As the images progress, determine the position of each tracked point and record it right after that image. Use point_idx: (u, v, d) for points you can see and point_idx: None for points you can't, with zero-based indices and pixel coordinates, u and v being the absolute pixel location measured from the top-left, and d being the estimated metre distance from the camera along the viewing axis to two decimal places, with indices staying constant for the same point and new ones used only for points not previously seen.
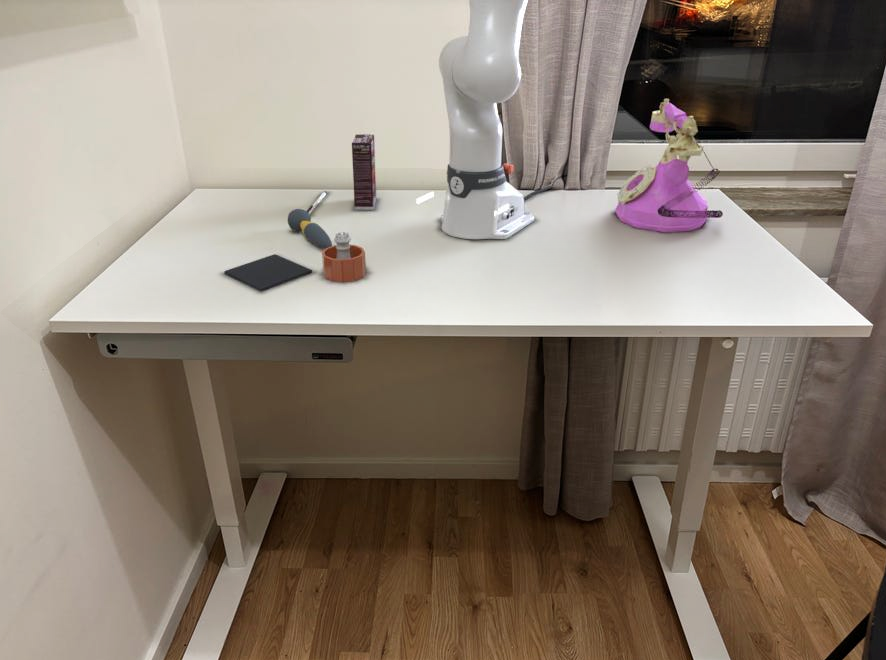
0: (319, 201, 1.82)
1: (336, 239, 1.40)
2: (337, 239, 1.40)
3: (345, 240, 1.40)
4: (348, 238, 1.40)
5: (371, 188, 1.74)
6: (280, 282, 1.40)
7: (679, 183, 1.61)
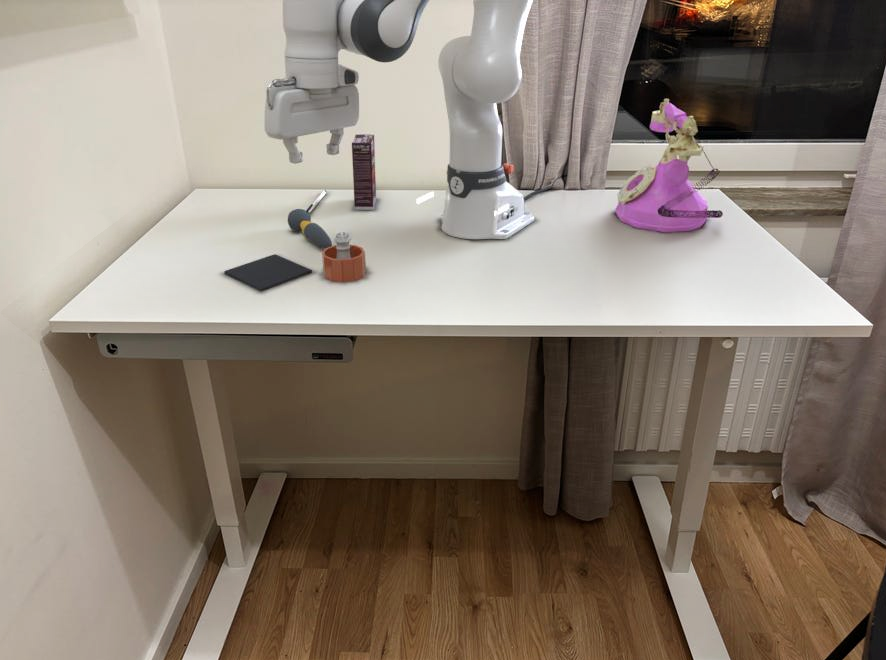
0: (319, 200, 1.82)
1: (336, 239, 1.40)
2: (337, 239, 1.40)
3: (345, 240, 1.40)
4: (348, 238, 1.40)
5: (371, 188, 1.74)
6: (280, 282, 1.40)
7: (679, 183, 1.61)
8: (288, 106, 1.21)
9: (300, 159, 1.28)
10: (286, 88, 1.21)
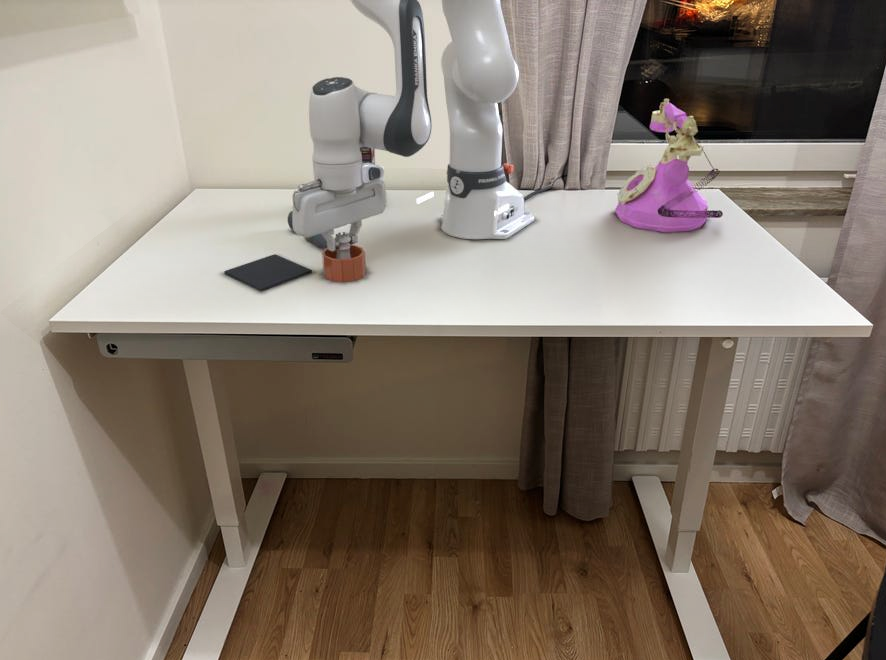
0: None
1: (336, 239, 1.40)
2: (337, 239, 1.40)
3: (345, 240, 1.40)
4: (348, 238, 1.40)
5: None
6: (280, 282, 1.40)
7: (679, 183, 1.61)
8: (313, 208, 1.31)
9: (337, 247, 1.40)
10: (312, 191, 1.31)
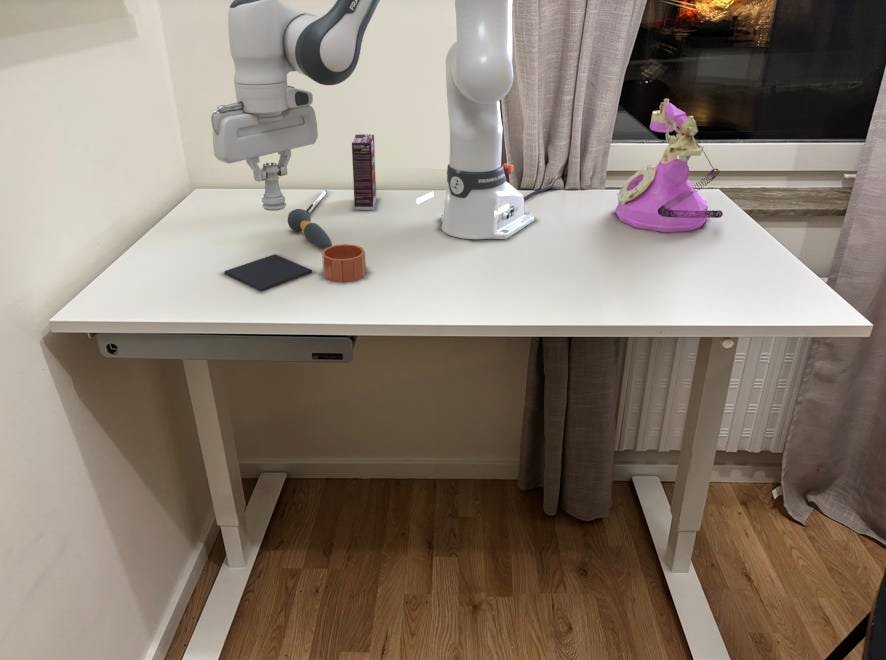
0: (319, 200, 1.82)
1: (263, 169, 1.34)
2: (264, 169, 1.33)
3: (272, 170, 1.33)
4: (276, 168, 1.34)
5: (371, 188, 1.74)
6: (280, 282, 1.40)
7: (679, 183, 1.61)
8: (234, 131, 1.25)
9: (264, 177, 1.33)
10: (232, 113, 1.25)
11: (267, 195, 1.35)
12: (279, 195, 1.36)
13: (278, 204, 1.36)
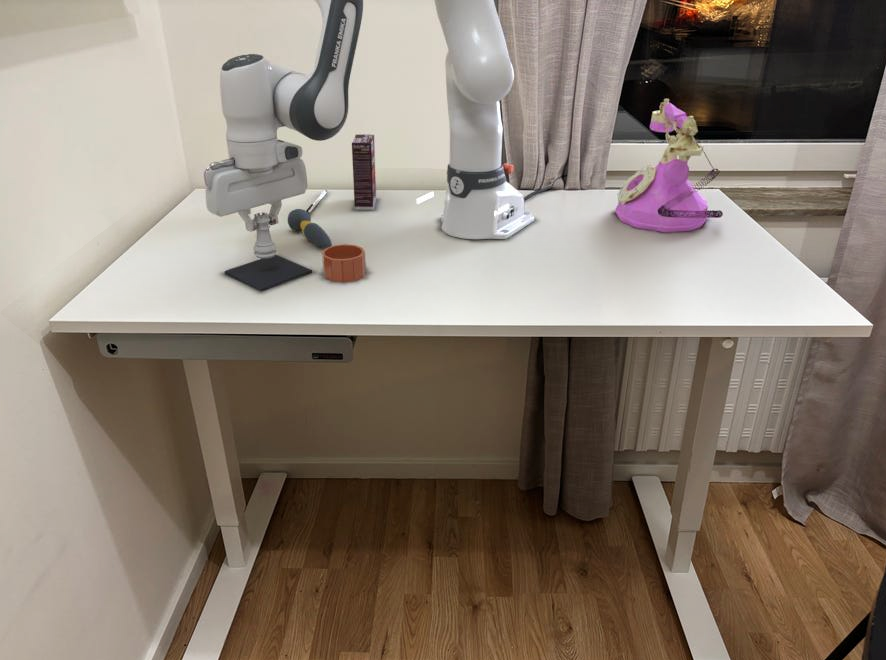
0: (319, 200, 1.82)
1: (254, 219, 1.38)
2: (255, 219, 1.38)
3: (263, 220, 1.38)
4: (267, 218, 1.39)
5: (371, 188, 1.74)
6: (280, 282, 1.40)
7: (679, 183, 1.61)
8: (226, 186, 1.29)
9: (255, 227, 1.38)
10: (224, 169, 1.30)
11: (259, 244, 1.40)
12: (270, 243, 1.41)
13: (269, 252, 1.41)
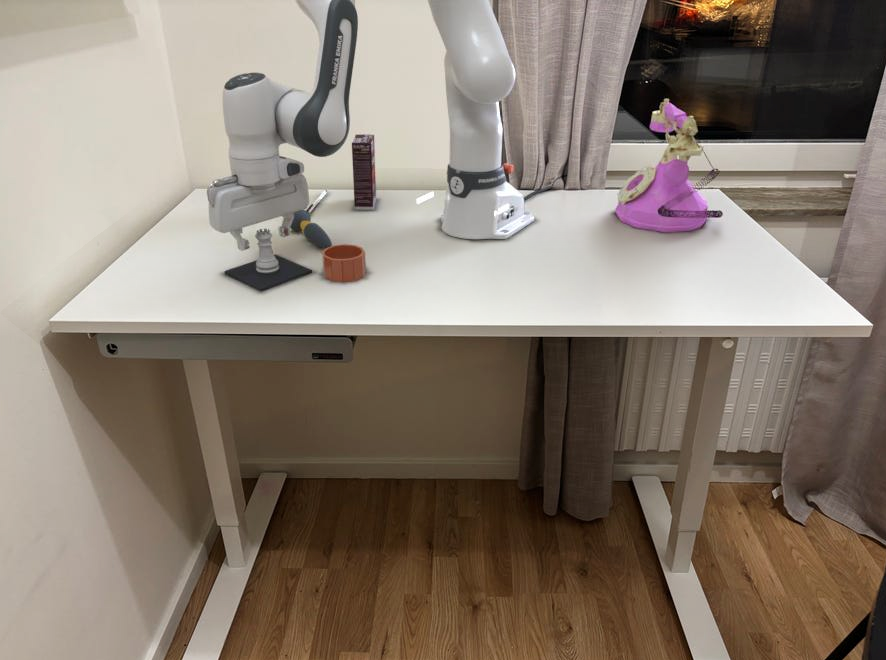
0: (319, 200, 1.82)
1: (257, 235, 1.40)
2: (258, 235, 1.40)
3: (265, 236, 1.40)
4: (269, 234, 1.40)
5: (371, 188, 1.74)
6: (280, 282, 1.40)
7: (679, 183, 1.61)
8: (228, 203, 1.31)
9: (247, 246, 1.38)
10: (227, 186, 1.31)
11: (261, 259, 1.42)
12: (272, 259, 1.43)
13: (271, 268, 1.43)
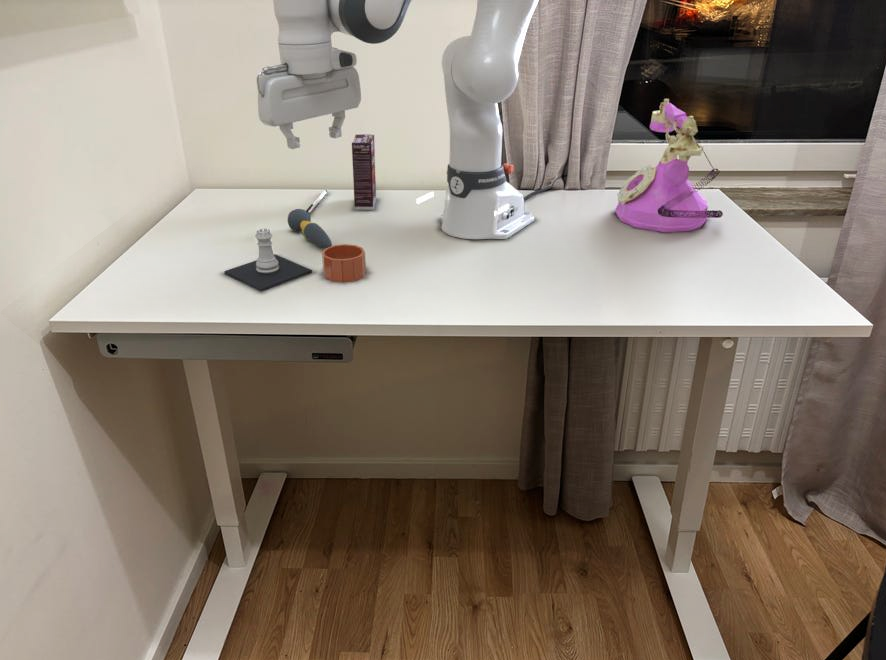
0: (319, 200, 1.82)
1: (257, 235, 1.40)
2: (258, 235, 1.40)
3: (265, 236, 1.40)
4: (269, 234, 1.40)
5: (371, 188, 1.74)
6: (280, 282, 1.40)
7: (679, 183, 1.61)
8: (279, 93, 1.23)
9: (297, 144, 1.30)
10: (277, 75, 1.23)
11: (261, 259, 1.42)
12: (272, 259, 1.43)
13: (271, 268, 1.43)
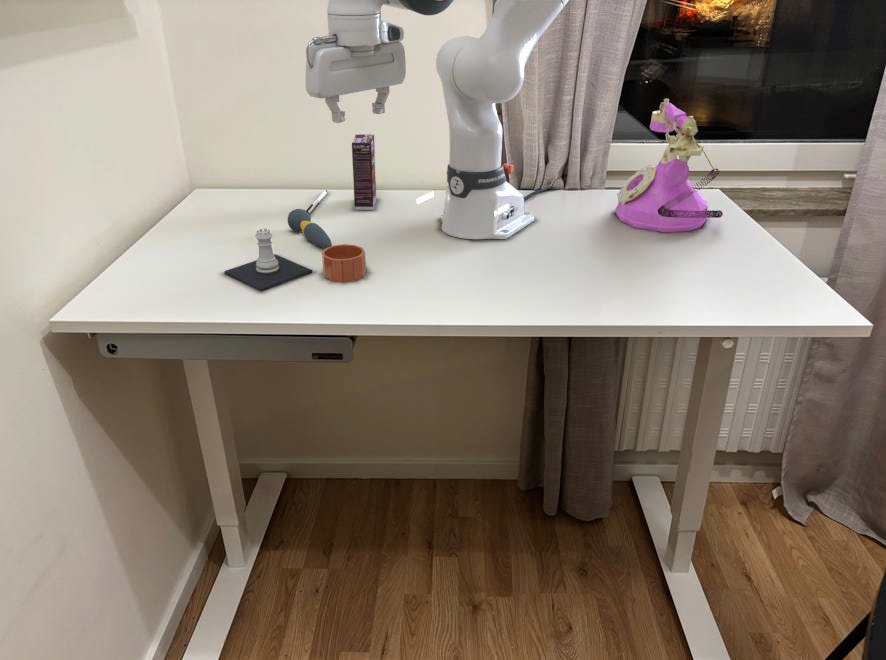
0: (319, 200, 1.82)
1: (257, 235, 1.40)
2: (258, 235, 1.40)
3: (265, 236, 1.40)
4: (269, 234, 1.40)
5: (371, 188, 1.74)
6: (280, 282, 1.40)
7: (679, 183, 1.61)
8: (328, 64, 1.21)
9: (342, 118, 1.28)
10: (327, 46, 1.21)
11: (261, 259, 1.42)
12: (272, 259, 1.43)
13: (271, 268, 1.43)
